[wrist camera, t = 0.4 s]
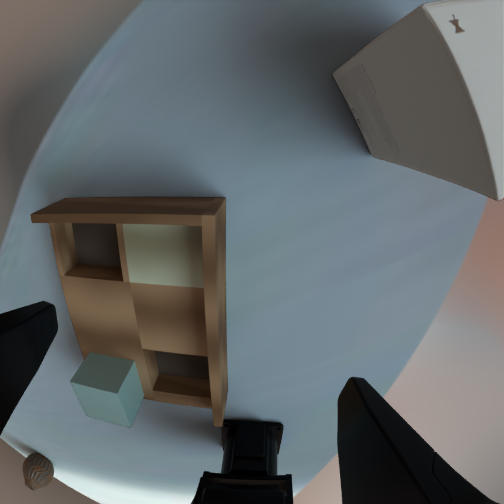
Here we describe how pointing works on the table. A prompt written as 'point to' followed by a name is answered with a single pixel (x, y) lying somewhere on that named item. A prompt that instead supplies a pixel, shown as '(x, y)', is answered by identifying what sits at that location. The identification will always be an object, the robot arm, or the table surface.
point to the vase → (37, 471)
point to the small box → (435, 93)
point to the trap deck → (149, 289)
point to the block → (108, 388)
